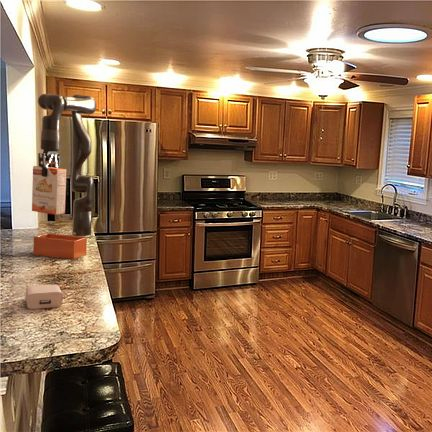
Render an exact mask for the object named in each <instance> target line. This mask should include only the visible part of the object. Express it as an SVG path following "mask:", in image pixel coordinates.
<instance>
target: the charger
mask: <svg viewBox="0 0 432 432" xmlns="http://www.w3.org/2000/svg"><path fill="white" fill-rule="evenodd" d="M25 302H26V306H27V308H28V309H30V310H38V309H47V308H48V309H51V308H59V307H60V306H62V305H63V292H62V290H61V288H60V286H59V284H54V283H53V284H52V283H51V284H34V285H28V286H26V287H25Z"/></svg>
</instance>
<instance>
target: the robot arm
mask: <svg viewBox="0 0 432 432" xmlns="http://www.w3.org/2000/svg"><path fill="white" fill-rule="evenodd" d="M37 104H38V106H39V108H41V109H42V110H45V111H52V112H51V113H50V114H47V115H43V116H42V117H41V132H40V149H41V150H42V152H38V153H37V160H38V162H37V163H38V164H37V166H39V167H41V168H42V176H43V177H47V173H48V169H47V168H48V167H49V165H50V167H53V168H59V167H61V160H62V154H61V153H58V152H59V151H60V144H61V143H60V142H61V139H60V138H61V133H60V122H61V118H62V115H63V112H71V124H72V125H71V126H72V127H71V128H72V130H71V131H72V134H71V140H72V141H71V153H72V154H71V156H72V157H71V158H72V165H71V179H70V180H71V181H70V188H71V192H73V193H79V194H80V193H81V194H85V195H84V196H81V197H79V198H75V199H74V200H73V206H72V210H73V211H72V229H71V230H72V231H71V236H78V237H87V239H89V238H91V237H92V225H93V223H92V221H93V220H92V218H93V217H92V216H93V215H92V214H93V196H94V195H93V194H94V185H95V183H94V182H95V180H94V177H93V176H91V175H80V170H81V168H82V166H83V165H84V163H85V162H86V161H87V159H88V158H89V156H90V155H91V153H92V138H91V136H90V134H89V132H88V130H87V128H86V127H85V125H84V123H83V122H84V121H83V118H82V114H83V115H93V114H94V113H95V112H96V110H97V101H96V99H95V98H94V97H93V96H90V95H84V94H73V95H72V96H70V95H63V94H52V93H42V94H40V95H39V96H38V98H37ZM57 151H58V152H57Z"/></svg>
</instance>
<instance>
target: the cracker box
mask: <svg viewBox="0 0 432 432" xmlns="http://www.w3.org/2000/svg"><path fill="white" fill-rule="evenodd" d="M47 169H48V173H47V177H43V176H42V168H41V167H39V165H33V166H32V189H31V191H32V192H31V193H32V194H31V212H35V213H36V212H37V213H42V214H48V215H54V216H57V215H58V216H59V215H65V214H66V197H67V196H66V194H67V192H66V191H67V169H66V168H59V167H58V168H53V167H51V166H48V168H47Z"/></svg>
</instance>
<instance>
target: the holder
mask: <svg viewBox="0 0 432 432" xmlns="http://www.w3.org/2000/svg"><path fill="white" fill-rule="evenodd" d="M87 243H88V238H87V237H78V236H72V235H70V234H69V235H67V234H60V233H58V234H57V233H43V234H39V235H35V236H33V243H32V244H33V249H32V255H33V256H41V257H43V256H44V257H51V258H61V259H70V260H75V259H78V258H81V257H84V256H85V255H87V245H88V244H87Z"/></svg>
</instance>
